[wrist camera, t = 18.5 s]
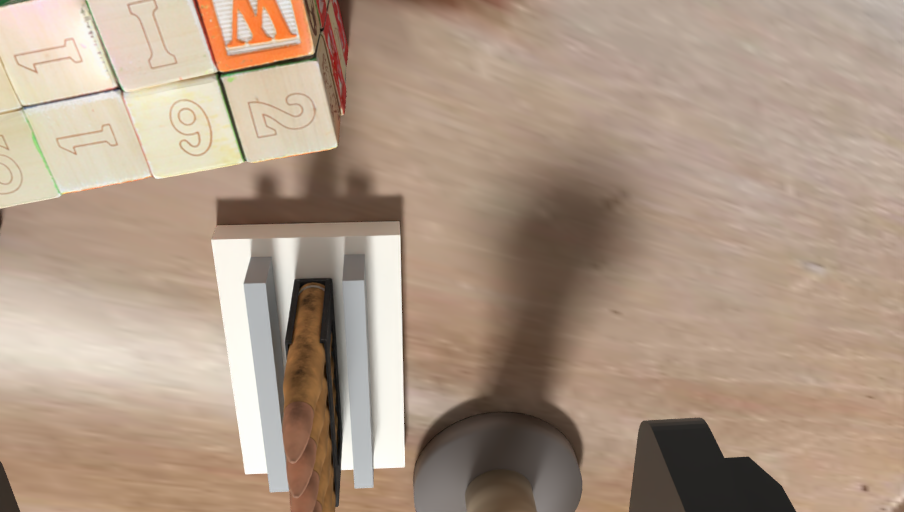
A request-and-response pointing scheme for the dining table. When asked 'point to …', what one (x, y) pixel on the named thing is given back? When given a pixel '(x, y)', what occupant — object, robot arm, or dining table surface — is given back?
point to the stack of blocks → (162, 88)
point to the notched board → (357, 335)
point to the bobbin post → (498, 467)
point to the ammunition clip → (312, 399)
